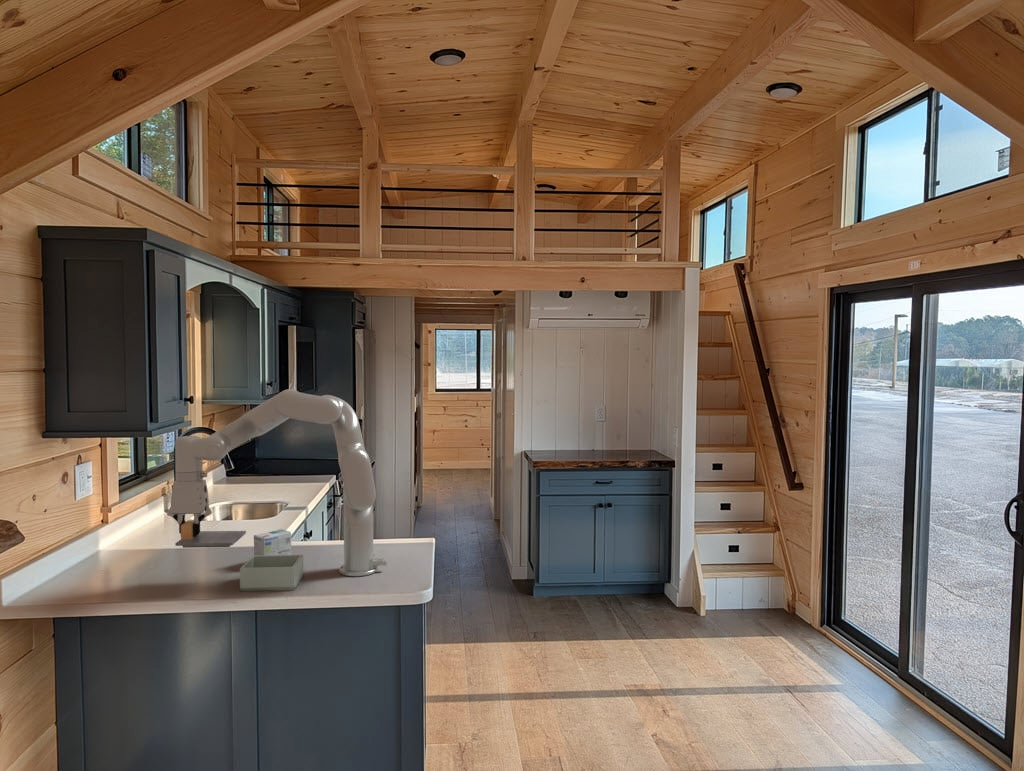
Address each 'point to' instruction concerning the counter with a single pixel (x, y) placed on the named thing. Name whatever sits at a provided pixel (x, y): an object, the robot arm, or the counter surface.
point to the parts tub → (271, 573)
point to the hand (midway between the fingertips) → (189, 535)
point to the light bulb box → (272, 543)
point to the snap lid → (207, 537)
